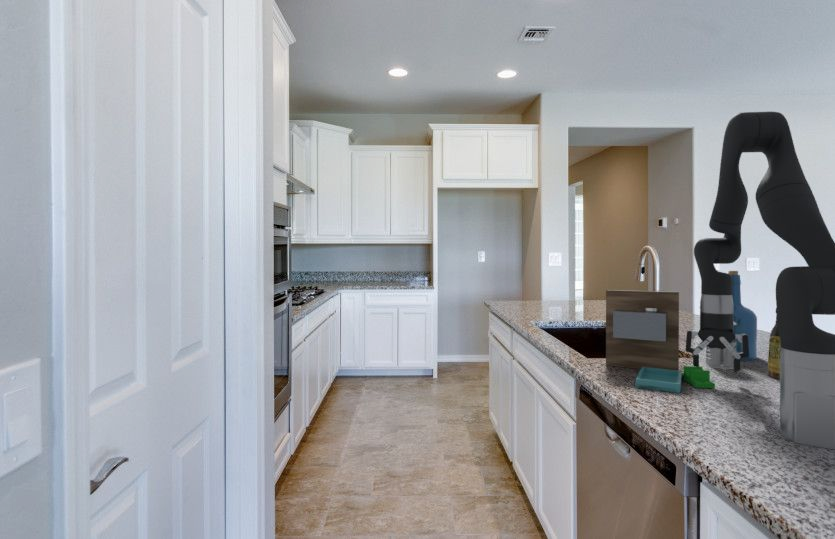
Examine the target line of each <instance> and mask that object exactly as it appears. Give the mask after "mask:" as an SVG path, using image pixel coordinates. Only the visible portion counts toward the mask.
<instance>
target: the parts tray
mask: <svg viewBox="0 0 835 539" xmlns="http://www.w3.org/2000/svg"><path fill="white" fill-rule="evenodd" d="M682 373H683V371H682V370H679V371H676V370H667V369H658V368H649V367H642V368H641V369H640V370H639V371H638V373H637V376H636V378H635V388H640V389H648V390H654V391H661V392H670V393H676V394H677V393H678V394H681V389H682V380H683V379H682Z"/></svg>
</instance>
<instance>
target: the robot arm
mask: <svg viewBox="0 0 835 539" xmlns="http://www.w3.org/2000/svg"><path fill="white" fill-rule="evenodd" d="M722 141H723V142H722V148H721V159H720V165H719V166H720V167H719V176H718V177H719V178H718V185H717V192H716V198H715V200H714V204H713V209H712V212H711V214H710V215H711V216H710V219H709V224H708V225H709V226H708V227H709V228H710V230H712V231H713V232H716V233H719V234H724V235H723V237H704V238H703V237H702V238H700V239H699V240H698V241H697V242H696V243H695V245H694V248H693V256H694V258H695V262H696V264H697V268H698V269H697V270H698V272H699V276H700V279H701V280H700V282H701V285H700V288H701V290H700V301H699V309H700V310H699V330H698V331H695V330H692V329H687V330H686V339H685V340H686V341H685V352H687V353H690V354H691V355H692V365H693V366H696V367H700V353H701V352H702V351H703V350H704V349H706V346H707V347H709V348H719V349H724V348H727V349H728V350H729V351H730V352H731V353H732V354H733V355H734V358H733V360H732V361H733V369H732V371H733V373H735V374H737V373H738V372H740V370H741V361H742V360H741V358H745V357H746V358H747V357H749V345H748V336H747V335H746V334H734V332H733V310H734V308H733V298H732V276H731V275H730V274H728V272H722V271H719V270H717V269H716V266H715V265H717V264H719V265H723V264H724V265H725V264H726V265H729V264H733V263H735V262H736V261H737V260H738V259H739V258H740V256H741V254H742V224H743V221H744V219H745V215H746V212H747V208H748V205H749V204H748V203H749V194H748V192H747V189H746V186H745V184H744V182H743V179H742V177H741V173H740V160H741V156H742V154H744V153H762V154H764V155H765V156H764V157H766V160H767V164H768V167H767V170H766V172H765V174H764V175H763V177H762V179H761V180H760V182H759V184H758V186H757V189H756V192H755V203H756V205H757V208H758V210H759V214H760V217H761V219H762V222H763V223H764V224H765V226H766V227H768V229H769V230H770V231H771V232H773V233H774V234H775V235H777V237H779V238H780V239H782V240H783V241H784V242H785V243H787V244H788V245H789V246H791V247H792V248H794V250H796V251H797V252H798V253H799V254H800V256H801V257H802V258H803V260H804V261H805V263H806V265H805V266H802V265H801V266H789V267H785V268H784V269H782V270H781V271H780V272H779V274H778V275H777V276H778V277H777V278H776V283H775V304H776V308H777V325H778V332H779V336H780V346H781V347H780V379H779V433H780V435H781V436H782V437H784V438H786V439H788V440H790V441H792V442H794V444H798V445H804V446H810V447H817V448H823V449H824V448H825V449H828V450H834V451H835V334H834V333H831V332H828V331H825V330H823V329H821V328H819V327H818V326H816V325H815V323H814V319H813V318H814V317H813V315H827V316H828V315H829V316H830V315H831V316H832V315H833V316H834V315H835V240H834V239H833V237H832V236H831V233H830V231H829V229H828V227H827V225H826V223H825V221H824V218H823V215H822V214H821V211H820V208H819V205H818V203H817V200H816V198H815V195H814V193H813V190H812V189H811V186H810V184H809V182H808V180H807V178H806V176H805V173H804V171H803V168H802V166H801V164H800V160H799V158H798V155H797V152H796V148H795V144H794V140H793V136H792V131H791V128H790V124H789V122H788V120H787V118H786V117H785V115H784V114H783V113H781V112H777V111H746V112H745V111H744V112H739V113H735V114H734V115H733V116H732V117H731V118H730V119H729V121H728V122H727V126H726V127H725V131H724V135H723V139H722ZM696 336H698V337H699V339H700V340H701V342H700V343H699V344H698V345H697V346H696V347H694V348H692V339H695V338H696ZM735 338H737V339H738V341H739V342H741V343H742V351H743V352H741V353H738V352H737V351H736V350H735V348H734V347H733V346H732V345H731V342H732V341H733V340H734V339H735Z"/></svg>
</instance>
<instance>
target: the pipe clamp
mask: <svg viewBox="0 0 835 539" xmlns="http://www.w3.org/2000/svg"><path fill="white" fill-rule="evenodd" d="M710 373H711V371H710V370H707V369H704V368H703V366H699V367H696V366H694V365H693V366H690V365H683V372H682V380H684V381H686V382H687V384H688V383H689V384H690V385H691V386H693V387H694V388H701V389H703V388H705V389H715V388H716V384H715V383H714V382H713V381H711V379H710V378H711V377H710V376H711V374H710Z"/></svg>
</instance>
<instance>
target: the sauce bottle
mask: <svg viewBox="0 0 835 539" xmlns="http://www.w3.org/2000/svg"><path fill="white" fill-rule="evenodd" d="M775 315H776V316H775V317H776V318H775V323H774V326H773V327H772V329H771V331H770V334H769V340H768V358H767V360H768V361H767V371H768V373H767V375H768V376H769V377H770V378H774V379H779V380H780V347H781V346H780V336H779V332H778V325H777V307H776V308H775Z"/></svg>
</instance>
